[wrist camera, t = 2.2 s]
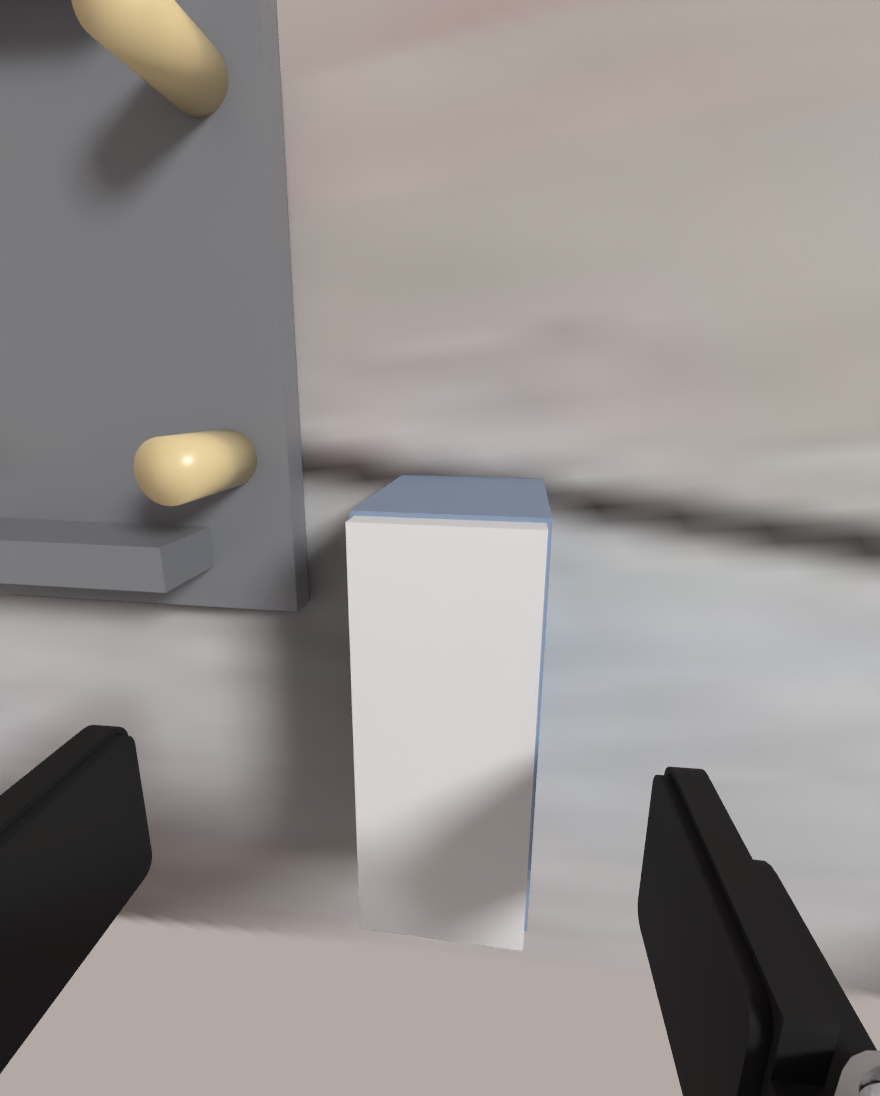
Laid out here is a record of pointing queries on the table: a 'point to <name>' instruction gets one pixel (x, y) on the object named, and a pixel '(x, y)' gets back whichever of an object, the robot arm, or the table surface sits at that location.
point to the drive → (447, 702)
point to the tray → (147, 307)
